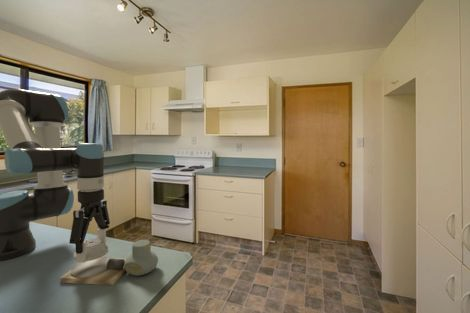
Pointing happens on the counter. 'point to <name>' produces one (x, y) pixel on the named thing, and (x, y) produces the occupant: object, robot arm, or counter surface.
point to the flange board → (96, 271)
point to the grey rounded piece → (141, 259)
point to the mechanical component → (94, 249)
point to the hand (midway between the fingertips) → (92, 253)
